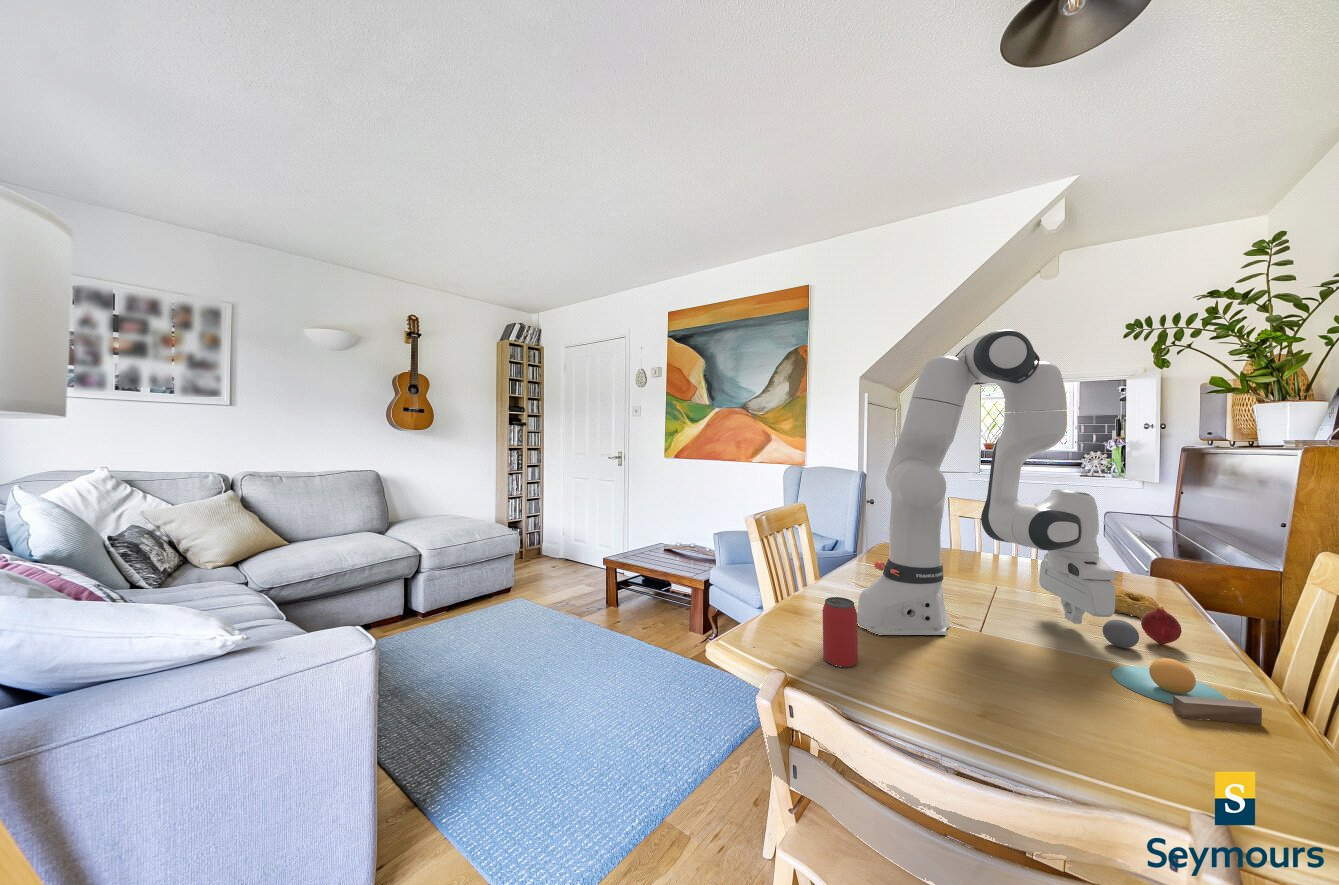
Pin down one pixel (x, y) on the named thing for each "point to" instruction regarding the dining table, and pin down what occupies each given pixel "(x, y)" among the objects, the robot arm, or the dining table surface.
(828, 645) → the beer can
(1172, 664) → the orange ball
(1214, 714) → the wall
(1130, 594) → the bagel
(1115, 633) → the grey rubber ball
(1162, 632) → the onion
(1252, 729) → the dining table surface
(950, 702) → the dining table surface
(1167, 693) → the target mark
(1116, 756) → the dining table surface
